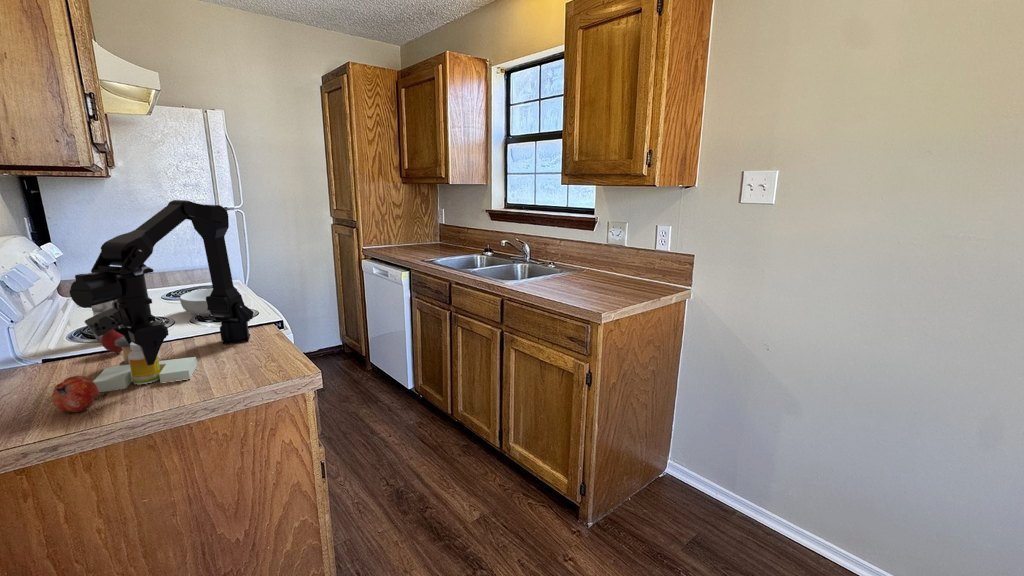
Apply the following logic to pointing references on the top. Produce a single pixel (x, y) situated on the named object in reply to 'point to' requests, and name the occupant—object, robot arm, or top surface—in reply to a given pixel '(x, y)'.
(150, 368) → the supplement bottle
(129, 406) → the top surface
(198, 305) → the cereal bowl
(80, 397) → the pomegranate
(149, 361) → the robot arm
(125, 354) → the spool
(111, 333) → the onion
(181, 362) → the notched board
